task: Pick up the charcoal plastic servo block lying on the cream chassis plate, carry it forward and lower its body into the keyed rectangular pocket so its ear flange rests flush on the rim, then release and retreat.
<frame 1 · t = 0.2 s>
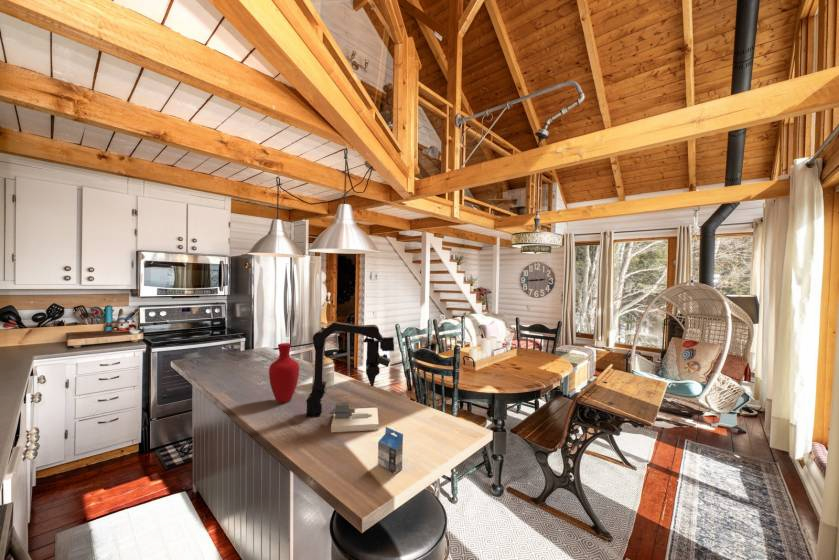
hand: (372, 383, 166), 14 cm above the table, fingers open, 9 cm apart
vase: (283, 401, 179), on the table
label tape cartridge: (389, 467, 119), on the table
servo: (342, 416, 154), point 3 cm above the table, touching chassis
chassis: (355, 422, 155), on the table
jar: (323, 384, 206), on the table
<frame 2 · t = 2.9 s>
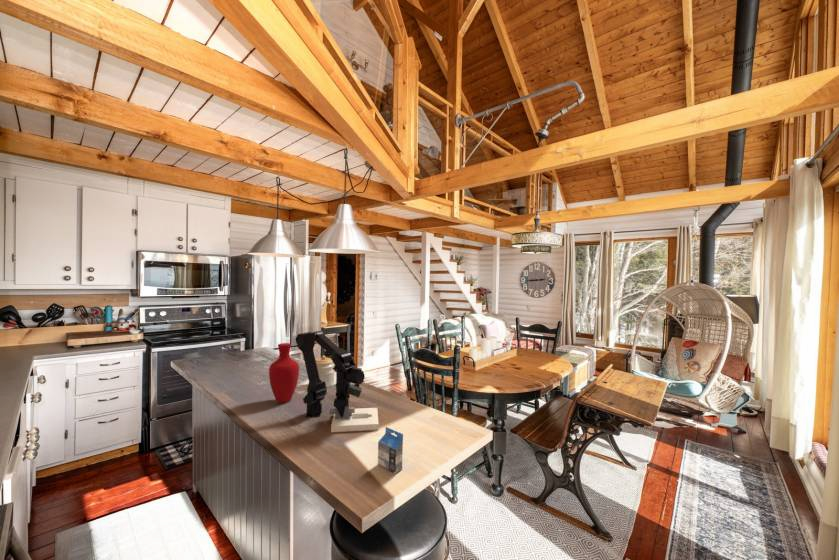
hand: (342, 414, 154), 4 cm above the table, fingers closed on servo, 4 cm apart
servo: (342, 416, 154), point 3 cm above the table, touching chassis, gripper
everything else where it was.
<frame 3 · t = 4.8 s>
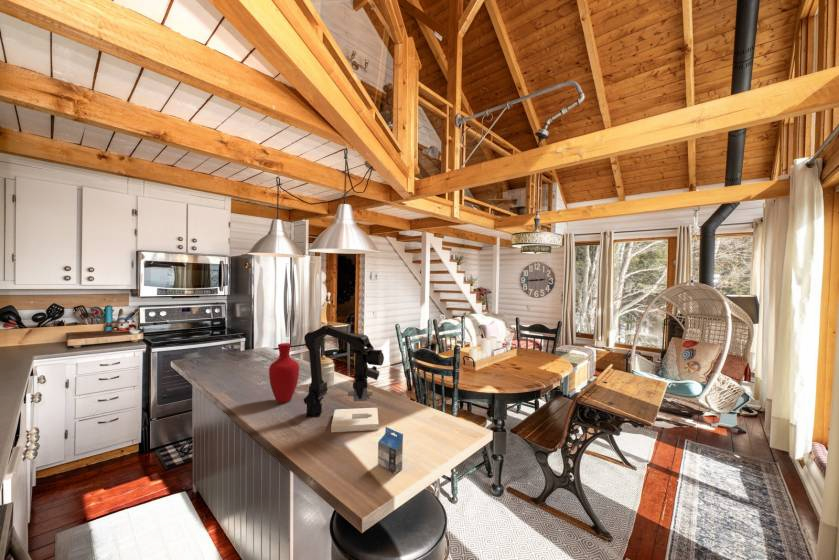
hand: (360, 397, 155), 11 cm above the table, fingers closed on servo, 4 cm apart
servo: (360, 399, 155), point 10 cm above the table, touching gripper
everything else where it was.
when the fingers open (3 cm above the table, at t = 6.9 s): servo drops 2 cm, resting on chassis.
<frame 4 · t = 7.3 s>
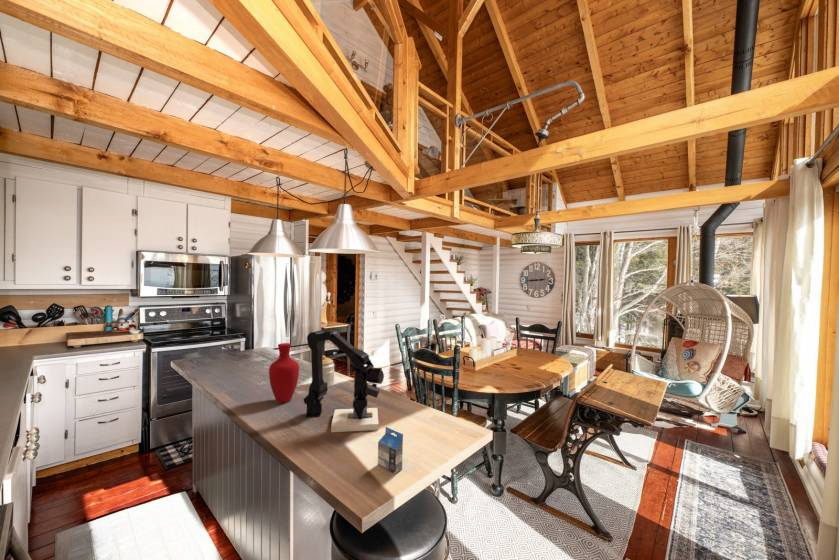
hand: (360, 415, 155), 3 cm above the table, fingers open, 9 cm apart
servo: (360, 421, 155), resting on chassis
everything else where it was.
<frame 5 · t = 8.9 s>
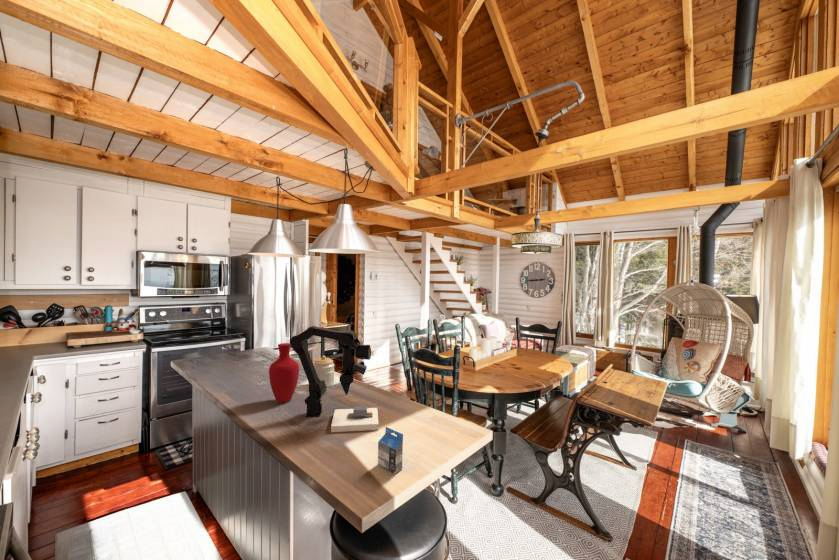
hand: (347, 390, 161), 12 cm above the table, fingers open, 9 cm apart
nothing on the table moved.
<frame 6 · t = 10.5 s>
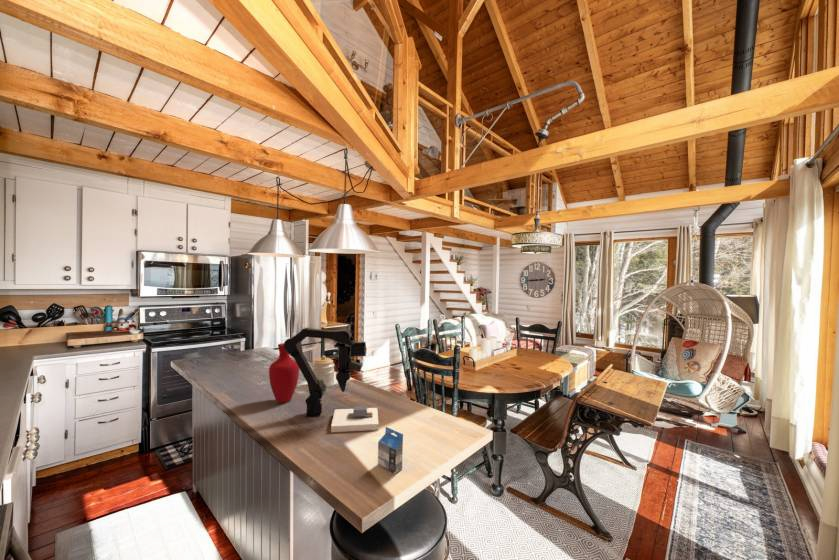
hand: (343, 388, 163), 13 cm above the table, fingers open, 9 cm apart
nothing on the table moved.
at the end: servo 0.0 cm from the target spot on the chassis, point 0.2 cm above the chassis's base; servo tilted 0°; the gripper is holding nothing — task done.
